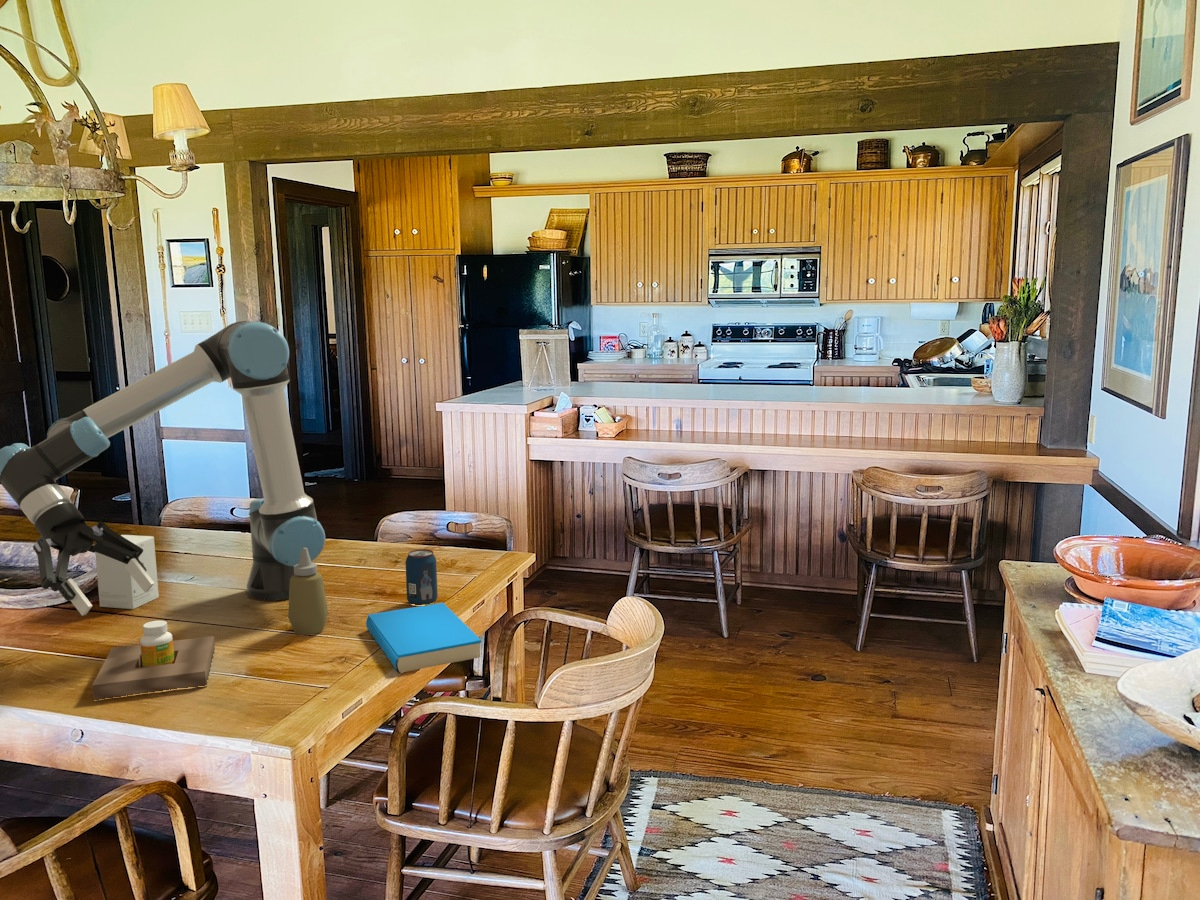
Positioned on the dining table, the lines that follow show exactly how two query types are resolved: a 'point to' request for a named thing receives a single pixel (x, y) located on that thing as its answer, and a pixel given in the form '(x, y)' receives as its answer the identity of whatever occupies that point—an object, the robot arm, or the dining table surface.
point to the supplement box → (126, 577)
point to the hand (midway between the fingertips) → (119, 599)
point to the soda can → (421, 577)
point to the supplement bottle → (156, 644)
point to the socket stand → (154, 669)
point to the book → (423, 637)
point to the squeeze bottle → (307, 597)
